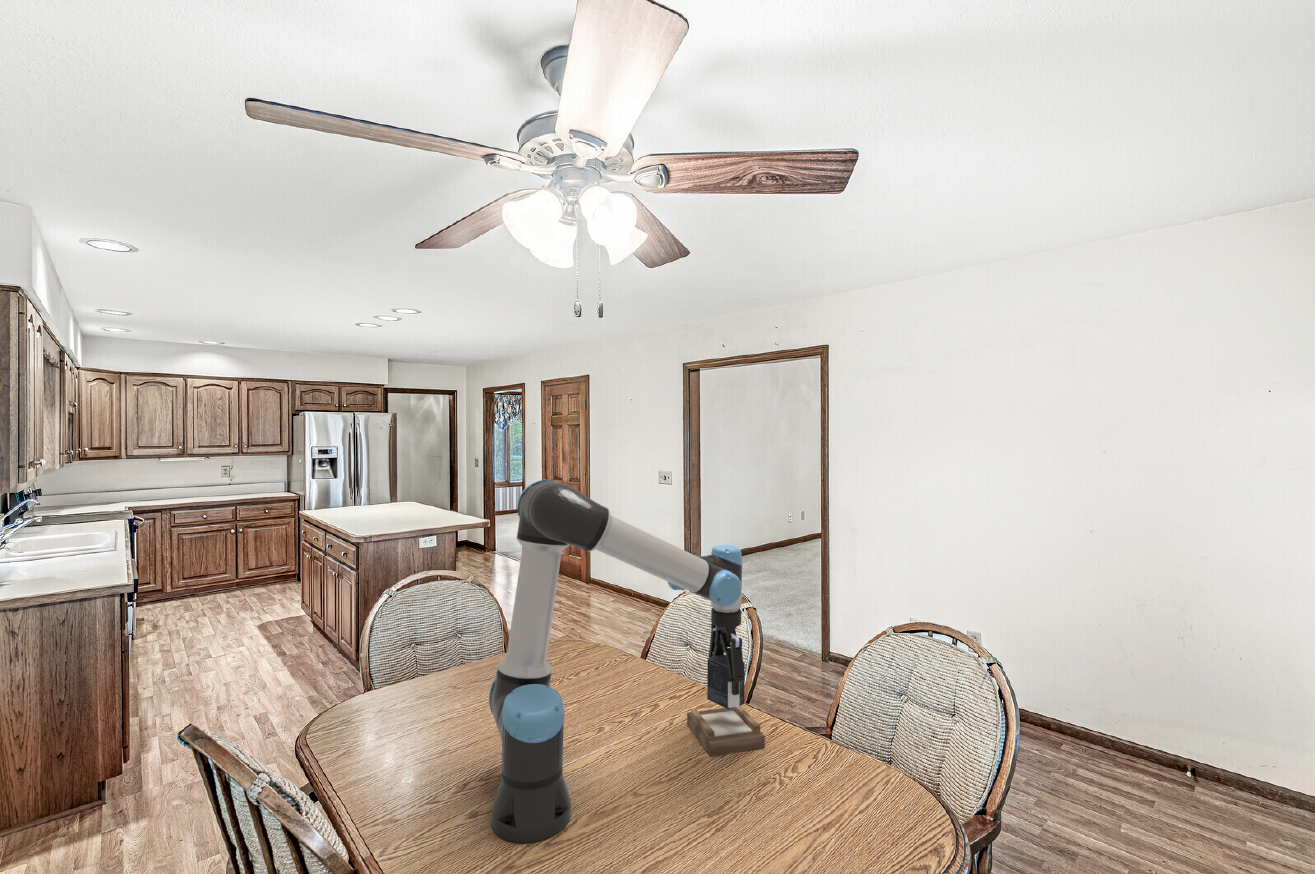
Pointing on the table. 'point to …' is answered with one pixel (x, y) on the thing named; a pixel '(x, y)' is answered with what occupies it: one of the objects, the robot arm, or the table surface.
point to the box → (721, 681)
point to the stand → (726, 730)
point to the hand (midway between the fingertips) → (725, 697)
